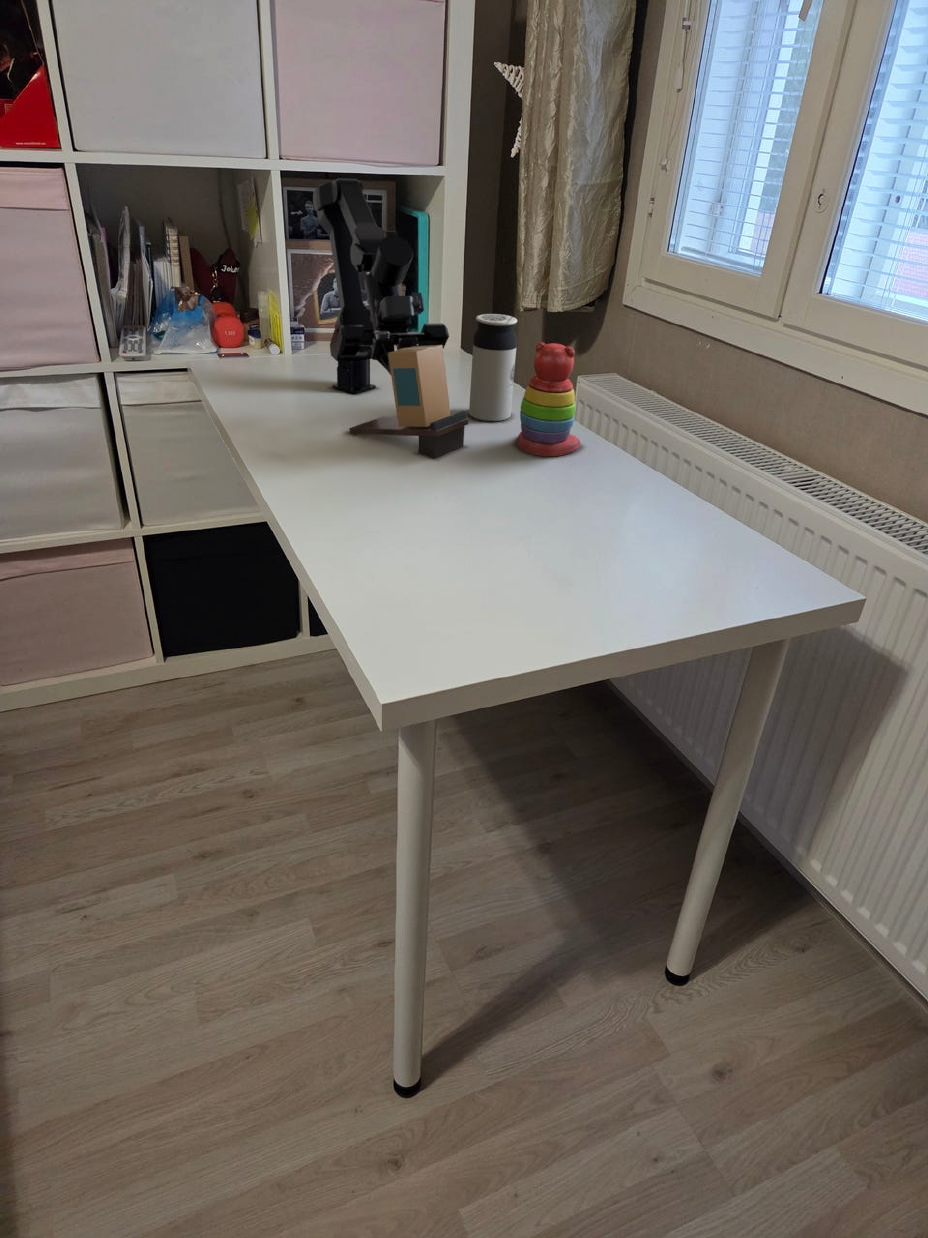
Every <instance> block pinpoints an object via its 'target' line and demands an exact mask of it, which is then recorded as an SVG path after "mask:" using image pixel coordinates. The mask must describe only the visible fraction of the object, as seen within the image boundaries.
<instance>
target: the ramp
mask: <svg viewBox="0 0 928 1238" xmlns="http://www.w3.org/2000/svg"><path fill="white" fill-rule="evenodd" d="M468 425H469V418H468V415H467V411H465V410H464V411H463V410H462V411H459V412H456V413H453V414H451V416H448V417H445V418H443V419H440V420H437V421H435V422H432V423H430V426H428V427H407V426H399V425H398V419H397V416H379V417H377V418H375V419H371V420H369V421H366V422H363V423H360V424H356V425H354V426H351V427H349V428H348V430H349V434H353V435H378V436H403V437H405V436H407V437H418V440H417V443H418V444H417V454H418V455H420V456H424V457H427V458H430V459H433V460H435V459H438V458H440V457H443V456H445V455H447V454H450V453H452V452H454V451H456V450H459V449H461V448H463V447H464V443H465V427H466V426H468Z"/></svg>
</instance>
